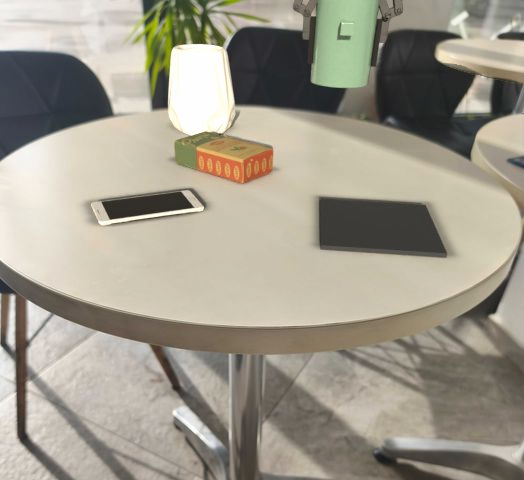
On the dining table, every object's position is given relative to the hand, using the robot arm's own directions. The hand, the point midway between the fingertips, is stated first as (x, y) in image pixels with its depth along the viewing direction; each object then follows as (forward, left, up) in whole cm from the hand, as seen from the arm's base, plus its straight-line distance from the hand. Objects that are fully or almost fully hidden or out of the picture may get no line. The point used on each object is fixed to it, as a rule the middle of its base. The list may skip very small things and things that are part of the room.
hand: (341, 64), depth 84 cm
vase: (+27, -15, -16) cm, 35 cm away
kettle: (0, 0, -3) cm, 3 cm away
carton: (+19, +9, -16) cm, 27 cm away
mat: (-6, +30, -16) cm, 35 cm away
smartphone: (+27, +29, -16) cm, 43 cm away
